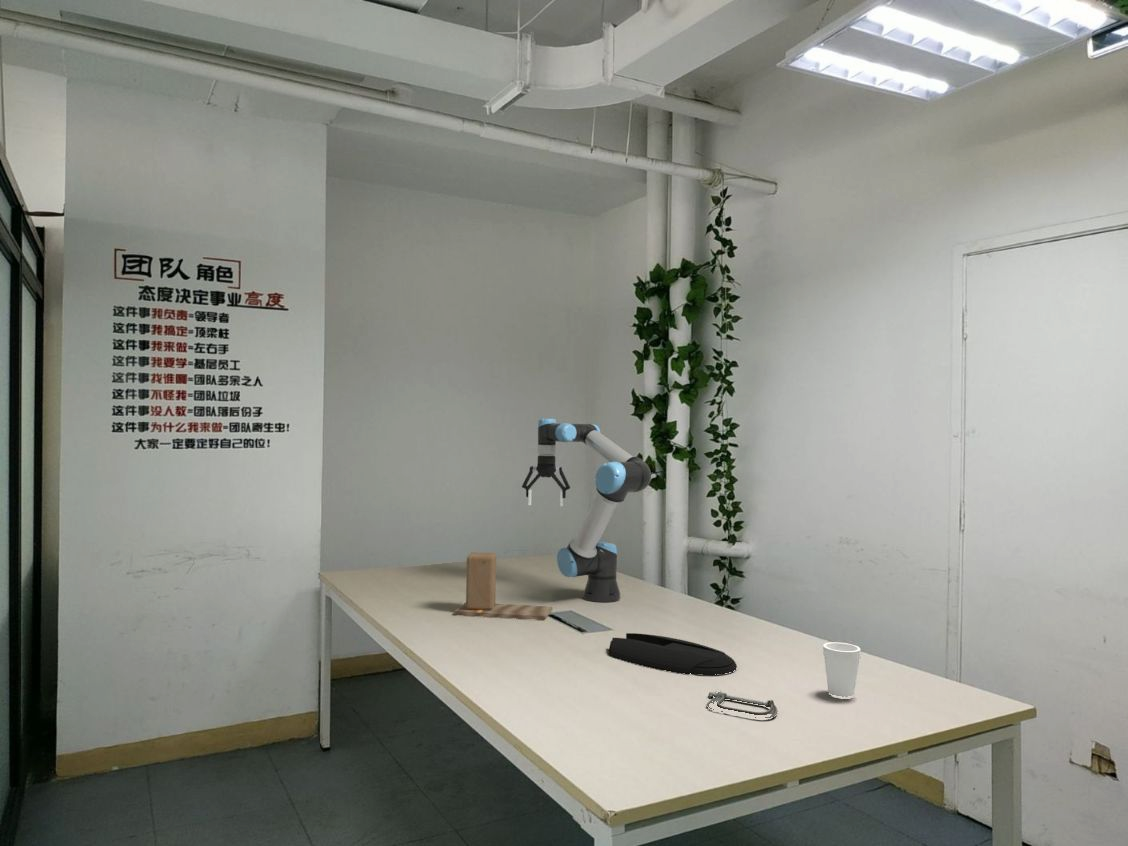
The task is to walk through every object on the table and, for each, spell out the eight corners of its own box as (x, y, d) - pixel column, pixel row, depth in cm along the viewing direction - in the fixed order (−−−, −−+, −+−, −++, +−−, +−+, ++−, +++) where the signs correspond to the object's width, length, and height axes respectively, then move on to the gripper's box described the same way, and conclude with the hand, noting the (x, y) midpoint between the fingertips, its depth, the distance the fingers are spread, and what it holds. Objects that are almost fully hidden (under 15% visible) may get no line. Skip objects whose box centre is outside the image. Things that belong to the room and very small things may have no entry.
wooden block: (492, 610, 300) (493, 556, 300) (465, 609, 301) (466, 556, 301) (495, 604, 310) (496, 552, 310) (469, 604, 311) (470, 551, 311)
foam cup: (830, 687, 224) (831, 640, 224) (864, 695, 218) (865, 646, 218) (817, 696, 216) (817, 647, 216) (851, 704, 210) (852, 654, 210)
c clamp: (690, 709, 206) (690, 698, 206) (719, 691, 220) (719, 681, 220) (766, 727, 194) (767, 716, 194) (792, 707, 209) (792, 697, 209)
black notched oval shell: (712, 684, 226) (712, 666, 226) (595, 656, 251) (595, 640, 251) (752, 665, 245) (752, 648, 245) (640, 640, 271) (640, 625, 271)
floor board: (552, 610, 309) (552, 606, 309) (544, 620, 294) (544, 615, 294) (466, 605, 315) (466, 601, 315) (454, 615, 299) (454, 610, 299)
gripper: (577, 455, 343) (576, 505, 343) (519, 454, 347) (518, 503, 347) (574, 456, 336) (573, 507, 336) (515, 454, 340) (514, 505, 340)
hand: (545, 505), depth 341 cm, fingers open, 13 cm apart
